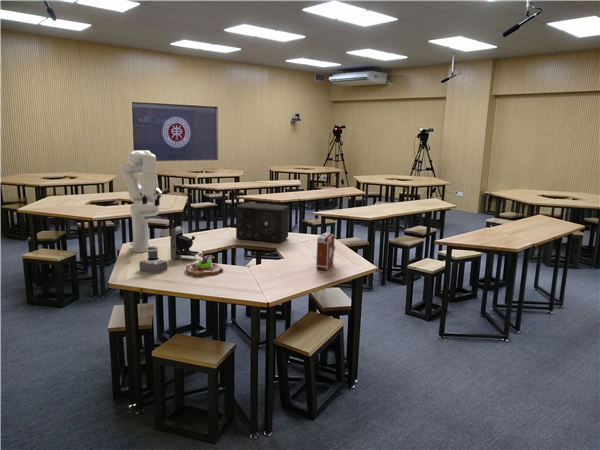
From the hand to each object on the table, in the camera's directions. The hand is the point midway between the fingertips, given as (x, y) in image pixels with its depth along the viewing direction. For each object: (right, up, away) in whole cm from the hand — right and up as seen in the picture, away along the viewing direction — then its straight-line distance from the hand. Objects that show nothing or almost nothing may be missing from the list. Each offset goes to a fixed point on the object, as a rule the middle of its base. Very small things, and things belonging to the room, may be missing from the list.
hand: (151, 204), depth 263 cm
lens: (+5, -32, -11) cm, 34 cm away
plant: (+33, -39, -9) cm, 52 cm away
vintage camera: (+17, -33, +14) cm, 39 cm away
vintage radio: (+59, -23, +68) cm, 93 cm away
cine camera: (+104, -37, +7) cm, 110 cm away
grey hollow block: (+5, -37, -10) cm, 39 cm away
